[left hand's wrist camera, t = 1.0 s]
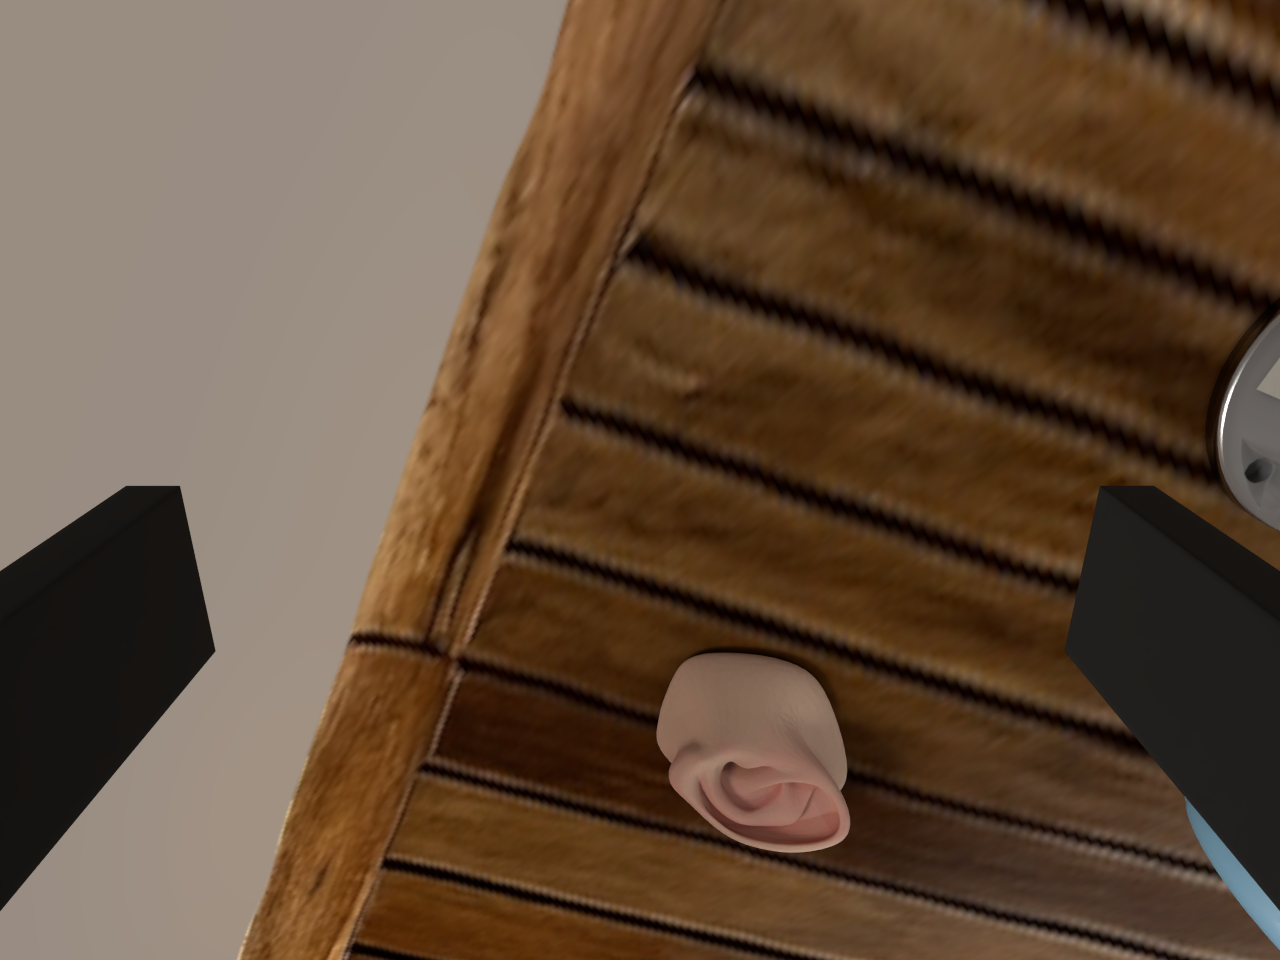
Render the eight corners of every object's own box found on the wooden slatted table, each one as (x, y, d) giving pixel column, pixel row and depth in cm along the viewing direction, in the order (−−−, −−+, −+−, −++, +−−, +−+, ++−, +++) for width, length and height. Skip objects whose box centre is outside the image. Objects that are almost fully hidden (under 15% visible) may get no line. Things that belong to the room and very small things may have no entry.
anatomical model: (643, 703, 47) (850, 672, 47) (641, 661, 51) (833, 632, 50) (678, 879, 52) (866, 853, 52) (675, 830, 56) (850, 805, 56)
